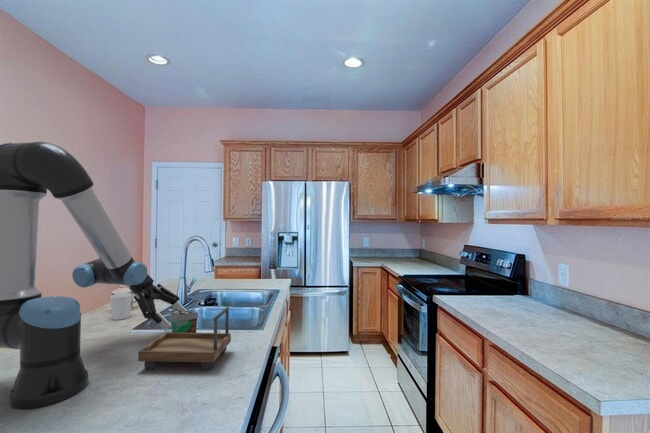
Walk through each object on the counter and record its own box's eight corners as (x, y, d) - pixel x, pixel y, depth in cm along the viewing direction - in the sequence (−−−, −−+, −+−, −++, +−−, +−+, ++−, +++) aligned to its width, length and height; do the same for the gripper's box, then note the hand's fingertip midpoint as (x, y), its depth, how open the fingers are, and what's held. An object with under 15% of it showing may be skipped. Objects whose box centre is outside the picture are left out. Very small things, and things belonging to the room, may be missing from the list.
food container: (161, 338, 115) (161, 311, 115) (176, 333, 120) (176, 307, 120) (184, 345, 109) (184, 316, 109) (198, 339, 115) (198, 312, 115)
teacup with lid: (114, 314, 144) (114, 288, 144) (108, 310, 150) (108, 285, 150) (142, 308, 152) (142, 284, 152) (136, 304, 159) (136, 282, 159)
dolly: (213, 373, 90) (213, 319, 90) (138, 372, 90) (138, 318, 90) (231, 350, 105) (231, 305, 105) (166, 349, 105) (166, 304, 105)
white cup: (124, 320, 135) (124, 297, 135) (106, 320, 135) (106, 297, 135) (135, 314, 143) (135, 292, 143) (118, 314, 143) (118, 292, 143)
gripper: (150, 280, 128) (186, 317, 128) (106, 296, 103) (151, 342, 103) (163, 267, 128) (199, 304, 128) (122, 280, 103) (167, 326, 103)
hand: (178, 321), depth 115 cm, fingers open, 13 cm apart
